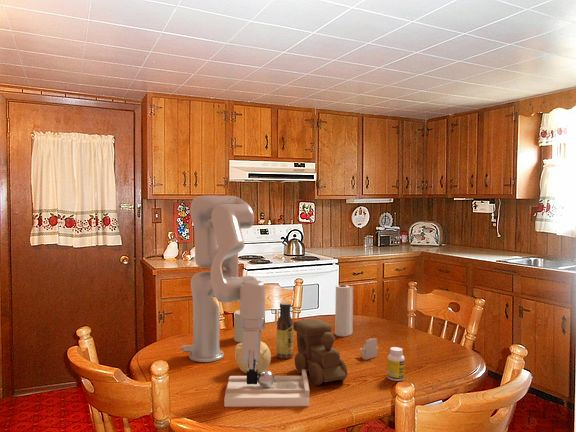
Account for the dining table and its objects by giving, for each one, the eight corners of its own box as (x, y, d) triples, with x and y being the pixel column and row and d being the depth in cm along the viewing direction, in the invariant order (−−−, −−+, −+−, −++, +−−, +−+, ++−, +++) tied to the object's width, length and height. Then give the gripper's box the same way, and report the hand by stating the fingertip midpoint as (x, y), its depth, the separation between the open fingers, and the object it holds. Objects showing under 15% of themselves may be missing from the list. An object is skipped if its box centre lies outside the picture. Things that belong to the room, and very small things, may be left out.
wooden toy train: (290, 368, 159) (290, 321, 158) (318, 363, 164) (319, 317, 163) (319, 390, 141) (320, 337, 140) (350, 384, 146) (351, 332, 145)
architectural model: (359, 358, 171) (359, 338, 171) (372, 354, 175) (372, 335, 175) (365, 360, 168) (365, 340, 168) (379, 357, 172) (379, 337, 172)
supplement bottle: (401, 382, 147) (401, 352, 147) (384, 379, 150) (385, 349, 150) (406, 377, 152) (406, 348, 152) (390, 373, 155) (391, 345, 154)
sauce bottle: (291, 360, 167) (291, 306, 166) (274, 358, 168) (274, 305, 168) (294, 354, 174) (295, 302, 173) (278, 353, 175) (278, 301, 174)
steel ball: (262, 371, 134) (275, 382, 134) (266, 363, 139) (279, 374, 139) (252, 383, 135) (265, 394, 135) (256, 375, 140) (269, 385, 140)
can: (260, 338, 193) (260, 310, 192) (247, 344, 185) (247, 314, 185) (243, 334, 198) (243, 307, 197) (229, 340, 190) (229, 311, 190)
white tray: (224, 406, 129) (224, 390, 129) (229, 383, 145) (229, 369, 145) (309, 406, 130) (309, 390, 130) (305, 383, 146) (305, 369, 146)
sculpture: (230, 374, 153) (230, 342, 153) (246, 362, 164) (246, 332, 164) (261, 379, 149) (261, 346, 149) (275, 367, 160) (275, 336, 160)
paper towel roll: (333, 336, 197) (334, 286, 196) (336, 332, 203) (337, 284, 202) (350, 337, 195) (351, 287, 194) (352, 333, 201) (353, 285, 200)
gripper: (241, 316, 144) (241, 373, 145) (237, 329, 129) (237, 393, 130) (265, 316, 144) (265, 373, 145) (264, 329, 129) (263, 393, 130)
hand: (252, 383), depth 137 cm, fingers closed
